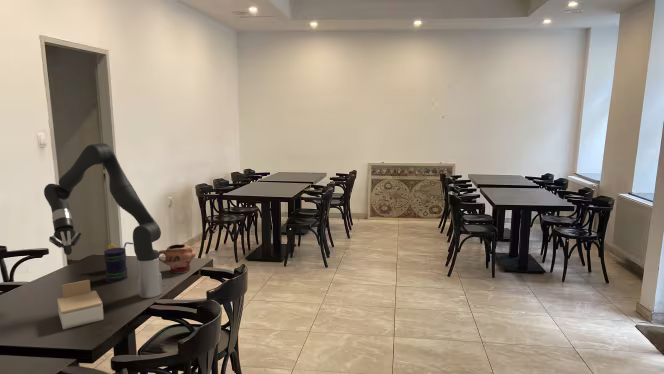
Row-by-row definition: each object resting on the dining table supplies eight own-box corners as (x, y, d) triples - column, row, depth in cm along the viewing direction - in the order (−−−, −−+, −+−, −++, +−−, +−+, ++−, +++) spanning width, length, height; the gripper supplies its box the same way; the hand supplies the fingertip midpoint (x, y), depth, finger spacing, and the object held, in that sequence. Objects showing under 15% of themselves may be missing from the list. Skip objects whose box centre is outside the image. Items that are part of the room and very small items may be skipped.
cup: (137, 266, 240) (135, 240, 238) (132, 271, 232) (130, 243, 230) (110, 267, 239) (108, 240, 237) (104, 272, 231) (102, 244, 229)
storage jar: (105, 283, 214) (102, 254, 212) (107, 277, 223) (104, 248, 221) (127, 280, 218) (125, 251, 216) (128, 274, 227) (126, 246, 225)
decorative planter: (155, 276, 224) (153, 250, 222) (159, 269, 235) (157, 244, 233) (195, 273, 228) (194, 247, 226) (197, 266, 240) (196, 241, 238)
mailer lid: (95, 292, 186) (94, 278, 185) (102, 304, 173) (101, 289, 172) (57, 300, 178) (55, 285, 177) (61, 313, 165) (60, 298, 164)
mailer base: (96, 306, 187) (95, 293, 186) (103, 319, 174) (102, 305, 173) (58, 315, 179) (57, 301, 178) (63, 329, 166) (61, 314, 165)
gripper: (45, 218, 192) (51, 252, 184) (79, 214, 200) (86, 247, 193) (45, 227, 197) (50, 260, 189) (78, 223, 205) (84, 255, 198)
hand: (68, 254), depth 191 cm, fingers closed
